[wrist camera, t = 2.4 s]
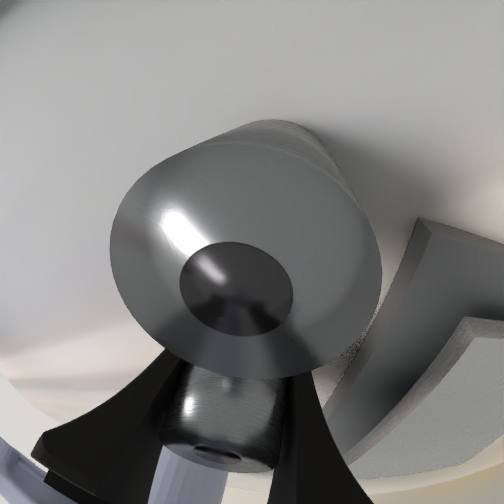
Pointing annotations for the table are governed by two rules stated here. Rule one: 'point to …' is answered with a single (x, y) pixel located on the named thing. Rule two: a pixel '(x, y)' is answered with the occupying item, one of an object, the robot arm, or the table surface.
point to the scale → (416, 324)
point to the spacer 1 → (248, 254)
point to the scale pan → (442, 409)
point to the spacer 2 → (226, 421)
